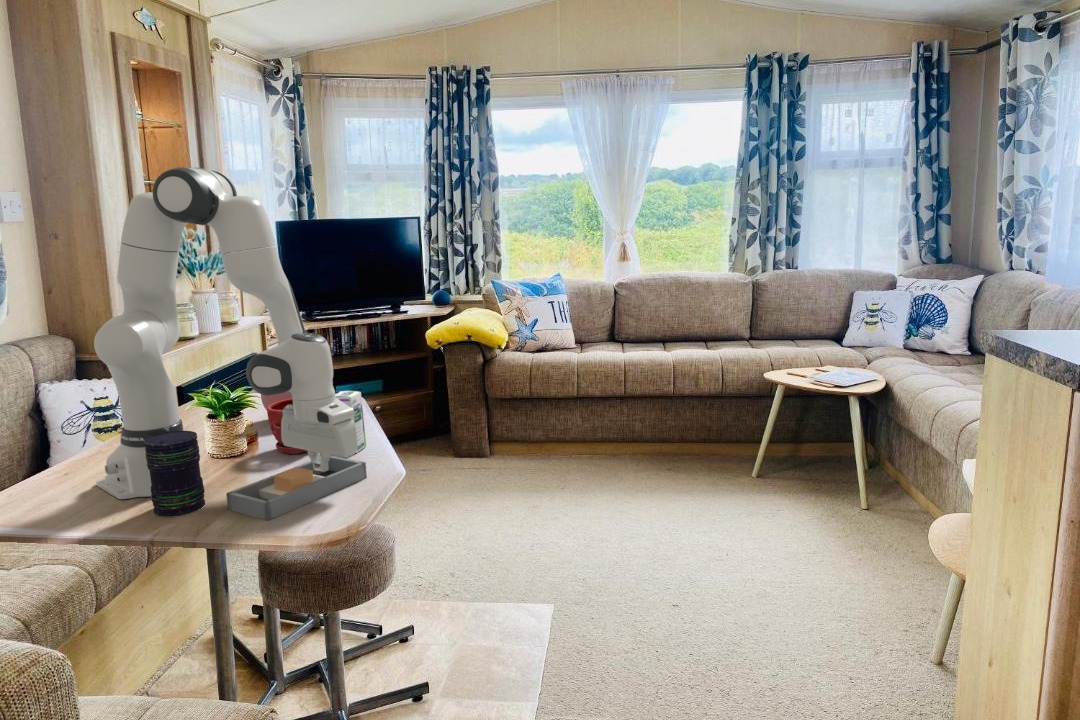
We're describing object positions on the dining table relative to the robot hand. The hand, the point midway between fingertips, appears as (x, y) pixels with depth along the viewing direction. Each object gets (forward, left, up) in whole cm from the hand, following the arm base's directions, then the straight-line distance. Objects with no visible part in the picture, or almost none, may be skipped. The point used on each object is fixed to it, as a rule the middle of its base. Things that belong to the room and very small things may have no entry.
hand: (321, 470), depth 171 cm
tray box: (0, -6, -3) cm, 7 cm away
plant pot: (-25, +16, -3) cm, 30 cm away
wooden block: (0, -8, -1) cm, 8 cm away
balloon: (-47, +36, -3) cm, 59 cm away
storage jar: (-16, -23, -3) cm, 29 cm away
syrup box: (-12, +21, -3) cm, 24 cm away
